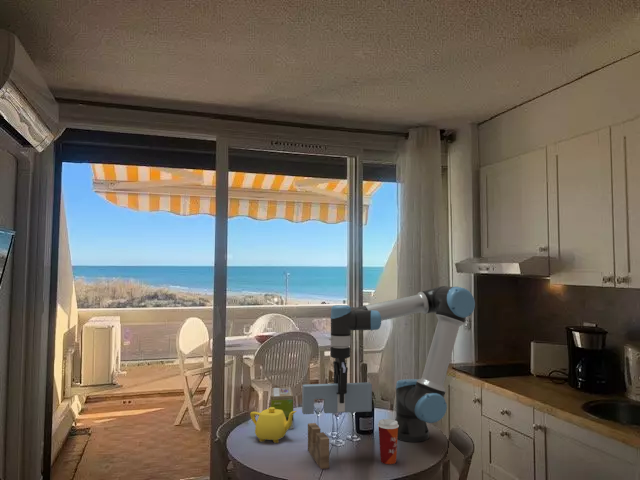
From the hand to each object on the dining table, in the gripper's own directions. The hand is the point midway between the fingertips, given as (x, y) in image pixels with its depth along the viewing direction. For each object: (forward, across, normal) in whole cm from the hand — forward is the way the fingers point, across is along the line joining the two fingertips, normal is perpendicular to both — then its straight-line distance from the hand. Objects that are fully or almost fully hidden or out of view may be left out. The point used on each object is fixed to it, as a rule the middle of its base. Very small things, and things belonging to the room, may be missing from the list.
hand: (339, 409), depth 176 cm
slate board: (+1, 0, -1) cm, 1 cm away
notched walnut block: (+17, +1, -8) cm, 19 cm away
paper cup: (+17, +8, +16) cm, 25 cm away
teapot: (+17, -23, -23) cm, 36 cm away
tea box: (+17, -40, -17) cm, 47 cm away
